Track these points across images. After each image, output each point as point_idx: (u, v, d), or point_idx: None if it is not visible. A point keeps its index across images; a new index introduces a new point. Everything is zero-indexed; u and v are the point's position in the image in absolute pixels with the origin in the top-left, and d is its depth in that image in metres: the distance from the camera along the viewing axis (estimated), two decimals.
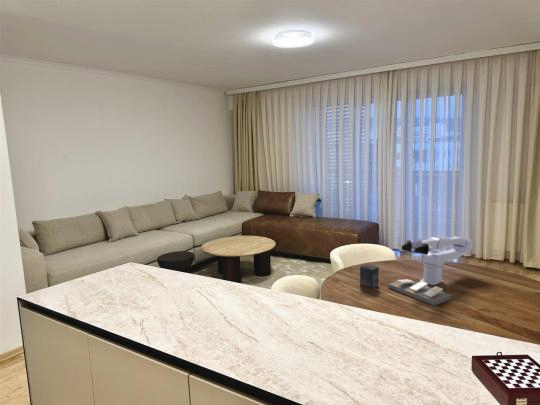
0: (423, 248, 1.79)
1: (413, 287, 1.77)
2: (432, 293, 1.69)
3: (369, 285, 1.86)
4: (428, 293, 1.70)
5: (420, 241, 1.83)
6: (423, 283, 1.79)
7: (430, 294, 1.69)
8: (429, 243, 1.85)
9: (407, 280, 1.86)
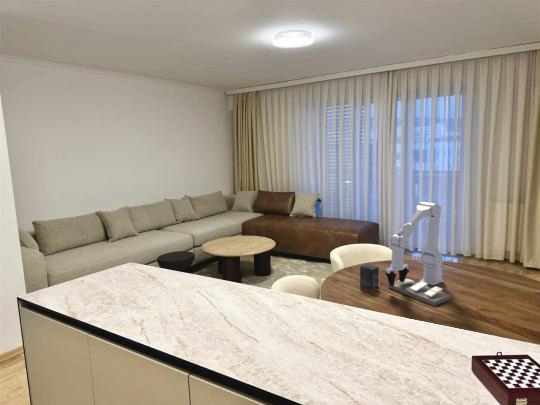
0: (390, 275, 1.78)
1: (413, 287, 1.77)
2: (432, 293, 1.69)
3: (369, 285, 1.86)
4: (428, 293, 1.70)
5: None
6: (423, 283, 1.79)
7: (430, 294, 1.69)
8: (392, 258, 1.79)
9: (407, 280, 1.86)
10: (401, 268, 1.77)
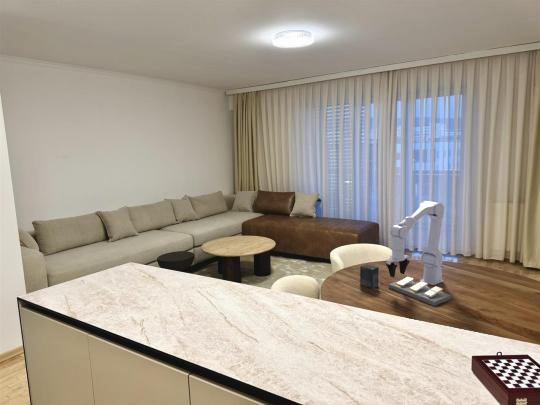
0: (391, 265, 1.78)
1: (413, 287, 1.77)
2: (432, 293, 1.69)
3: (369, 285, 1.86)
4: (428, 293, 1.70)
5: None
6: (423, 283, 1.79)
7: (430, 294, 1.69)
8: (392, 249, 1.79)
9: (407, 279, 1.86)
10: (402, 259, 1.76)
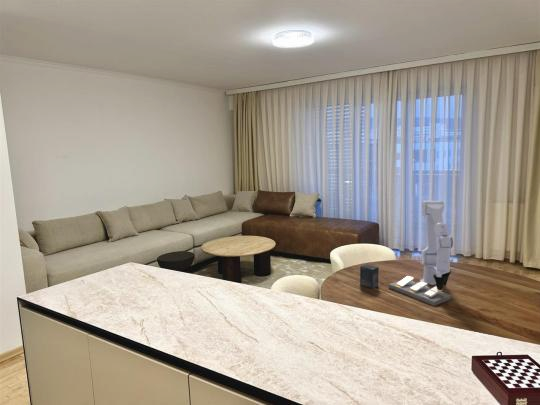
0: (439, 278, 1.70)
1: (413, 287, 1.77)
2: (432, 293, 1.69)
3: (369, 285, 1.86)
4: (428, 293, 1.70)
5: None
6: (423, 283, 1.79)
7: (430, 294, 1.69)
8: (438, 261, 1.71)
9: (407, 279, 1.85)
10: (448, 270, 1.71)
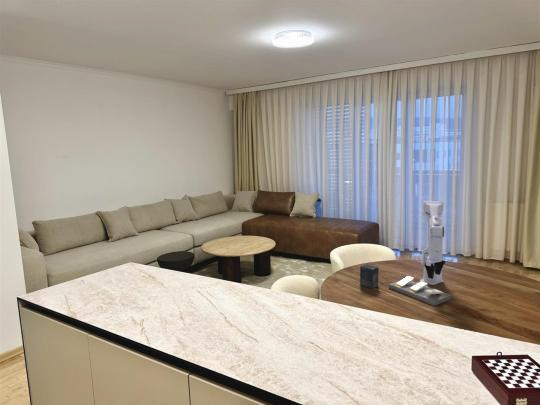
0: (429, 267, 1.74)
1: (413, 287, 1.77)
2: (432, 291, 1.69)
3: (369, 285, 1.86)
4: (428, 290, 1.70)
5: None
6: (423, 283, 1.79)
7: (430, 291, 1.69)
8: (430, 250, 1.74)
9: (407, 279, 1.85)
10: (440, 259, 1.73)
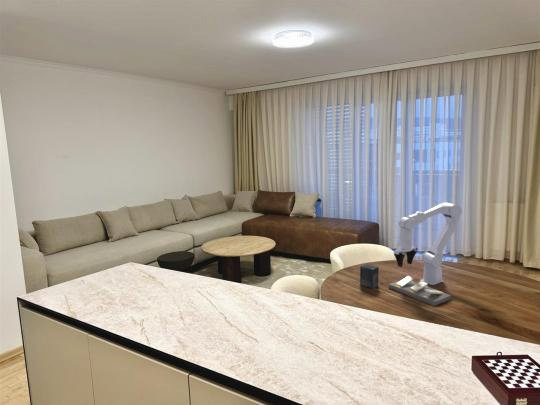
0: (399, 256, 1.86)
1: (413, 287, 1.77)
2: (432, 291, 1.69)
3: (369, 285, 1.86)
4: (429, 290, 1.70)
5: None
6: (423, 283, 1.79)
7: (431, 291, 1.69)
8: (400, 240, 1.87)
9: (407, 279, 1.85)
10: (409, 249, 1.85)
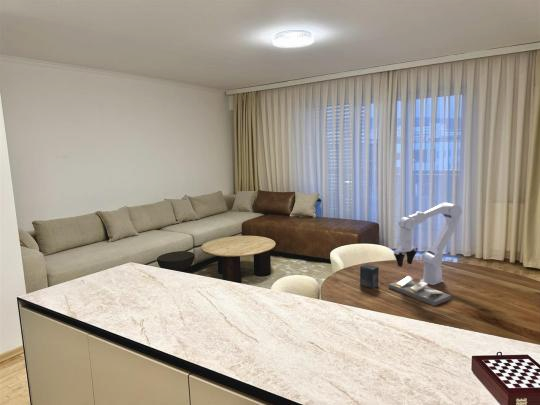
0: (399, 256, 1.86)
1: (413, 287, 1.77)
2: (432, 291, 1.69)
3: (369, 285, 1.86)
4: (428, 290, 1.70)
5: None
6: (423, 283, 1.79)
7: (430, 291, 1.69)
8: (400, 240, 1.87)
9: (407, 279, 1.85)
10: (409, 249, 1.85)
